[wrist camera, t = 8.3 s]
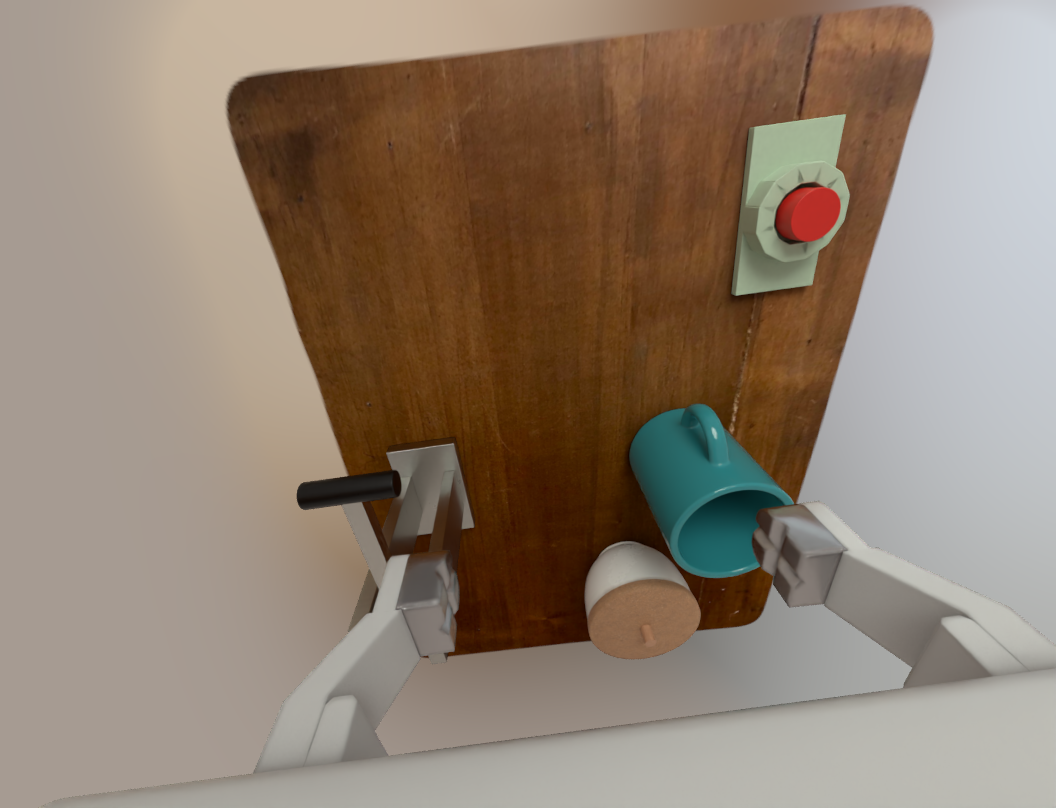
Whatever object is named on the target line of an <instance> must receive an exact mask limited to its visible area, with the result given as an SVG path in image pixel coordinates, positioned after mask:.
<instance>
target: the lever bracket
mask: <svg viewBox="0 0 1056 808" xmlns="http://www.w3.org/2000/svg"><path fill="white" fill-rule="evenodd" d="M387 456H388V459H389V462H390V465H391V468H392V470H397V471H398V472H399V474H400V477H401V484H402V488H401V494H400V496H399V497H395V498H393V501H392V504H391V507H390V510H389V513H388V515H387V518H386V521H385V524H384V527H383V530H382V532H383V534H384V537H385V539H386V542H387V545H388V547H389V550H390V552H391V555H392V556H397V555H406V554H412V553H413V551H414V547H415V543H416V539H417V535H423V534H430V533H432V536H431V541H430V546H429V552H432V551H441V550H450V552H451V555H452V559H453V562H452V569H454V570H455V571H456V573H457V567H458V558H459V549H460V540H461V531H462V529H467V528H474V527H475V516H474V512H473V508H472V504H471V500H470V496H469V492H468V487H467V483H466V479H465V475H464V471H463V467H462V463H461V459H460V455H459V451H458V447H457V443H456V439H455V437H450V438H443V439H436V440H429V441H421V442H414V443H407V444H400V445H392V446H389V448H388V451H387ZM378 592H379V589H378V587H377V585H376V582H375V580H374V578H373V576H372V573H371V571H370V569H369V571H368V574H367V577H366V580H365V582H364V585H363V588H362V591H361V594H360V597H359V600H358V603H357V606H356V609H355V612H354V615H353V617H352V621H351V623H350V626H349V629H348V632H350V631H351V630H352V628H353V627H354V626H355V625H356V624H357V623H358V622H359V621H360V620H361V619H362V618H363V617H364V616H365V615H366V614H368V613H372V612H373V609H374V606H375V602H376V599H377V596H378ZM428 656H429V658H430V661H431V663H432V664H438V663H445V662H447V656H448V652H446V653H440V654H434V655H428Z"/></svg>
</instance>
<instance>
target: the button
mask: <svg viewBox="0 0 1056 808" xmlns="http://www.w3.org/2000/svg"><path fill="white" fill-rule="evenodd" d="M840 210H841V202H840V198H839V196H838V195H837V193H836V192H835V191H834V190H832V189H830V188H825V187H807V188H800V189H797V190H795V191H793V192H792V193H790V194H789V195H788V196H787V197H786V198H785V199H784V200H783V201H782V203H781V204H780V206H779V208H778V211H777V214H776V220H775V221H776V228H777V230H778V232H779V233H780V235H782V236H783V237H785V238H787V239H792V240H798V241H804V242H811V241H815V240H818V239H820V238H822V237H823V236H825V235H826V234H827V233H828V232H829V231H830V230H831V229H832V228H833V227H834V225H835V223H836V222H837V220H838V217H839V214H840Z"/></svg>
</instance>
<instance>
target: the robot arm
mask: <svg viewBox="0 0 1056 808" xmlns="http://www.w3.org/2000/svg"><path fill="white" fill-rule="evenodd" d="M755 520H756V522H757V523H758V524H759V527H758V528H757V529H756V530H755V531H754V532H753V535H752V542H751V543H752V548H753V553H754V555H755V557H756V560H757V562H758V563H759V565H760V566H761V568H762V569H763V570H765V571H766V572H768V573H770V574H771V575H773V576H774V580H773V585H774V586H775V588H776V589H777V591H778V592H779V593H780V595H781V596H782V598H783V599H784V601H785V602H786V603H787V605H788V606H789V607H799V606H809V605H819V604H824V606H825V607H827V608H828V609H829V610H831V611H832V612H834V613H835V614H837V615H838V616H839V617H841V618H842V619H844V620H845V621H847V622H848V623H850V624H851V625H852V626H854V627H855V628H856V629H858V630H859V631H861V632H862V633H864V634H865V635H867V636H868V637H870V638H871V639H872V640H874V641H875V642H877V643H878V644H879V645H881V646H882V647H884V648H885V649H886V650H888V651H889V652H891V653H892V654H894V655H895V656H896V657H898V658H899V659H901V660H902V661H904V662H905V663H906V664H908V665H909V666H911V667H912V670H911V672H910V673H909V675H908V677H907V679H906V681H905V682H904V687H903V688H901V689H894V690H886V691H878V692H871V693H863V694H855V695H848V696H840V697H833V698H825V699H817V700H810V701H803V702H795V703H787V704H779V705H772V706H764V707H756V708H749V709H741V710H733V711H726V712H718V713H710V714H702V715H695V716H688V717H680V718H672V719H665V720H657V721H650V722H642V723H635V724H627V725H619V726H612V727H604V728H597V729H589V730H581V731H574V732H566V733H558V734H551V735H543V736H536V737H528V738H521V739H513V740H505V741H498V742H490V743H483V744H475V745H468V746H460V747H453V748H444V749H437V750H429V751H422V752H414V753H406V754H399V755H391V756H388V754H387V752H386V750H385V749H384V747H383V745H382V743H381V742H380V740H379V738H378V736H377V734H376V733H375V730H376V728H377V727H378V725H379V723H380V722H381V720H382V719H383V717H384V715H385V714H386V712H387V711H388V709H389V708H390V706H391V705H392V703H393V701H394V700H395V698H396V696H397V695H398V694H399V692H400V690H401V689H402V687H403V686H404V684H405V683H406V681H407V679H408V678H409V676H410V675H411V673H412V672H413V670H414V668H415V667H416V665H417V664H418V662H419V661H420V657H421V656H427V655H434V654H440V653H446V652H452V651H455V641H456V631H457V623H456V620H455V617H454V614H455V613H456V612H457V610H458V609H459V582H458V576H457V573H456V571H455V570H454V569H452V562H453V559H452V555H451V552H450V550H441V551H432V552H422V553H412V554H406V555H397V556H391V558H390V559H389V560H388V562H387V566H386V569H385V572H384V576H383V579H382V582H381V586H380V589H379V592H378V596H377V599H376V602H375V606H374V609H373V612H372V613H368V614H366V615H365V616H364V617H363V618H362V619H361V620H360V621H359V622H358V623H357V624H356V625H355V626H354V627H353V628H352V630H351V631H350V632H349V633H348V634H347V635H346V636H345V637H344V638H343V639H342V640H341V641H340V642H339V643H338V644H337V645H336V646H335V648H334V649H333V650H332V651H331V652H330V653H329V654H328V655H327V656H326V657H325V658H324V659H323V660H322V661H321V662H320V663H319V664H318V666H317V667H316V668H315V669H314V670H313V671H312V672H311V673H310V674H309V675H308V676H307V677H306V678H305V679H304V680H303V681H302V682H301V684H300V685H299V686H298V687H297V688H296V689H295V690H294V691H293V692H292V693H291V694H290V695H289V696H288V697H287V698H286V699H285V700H284V702H283V704H282V706H281V709H280V711H279V713H278V716H277V718H276V720H275V723H274V725H273V728H272V730H271V732H270V734H269V737H268V739H267V742H266V744H265V747H264V749H263V751H262V753H261V756H260V758H259V760H258V763H257V765H256V768H255V770H254V772H253V774H246V775H238V776H231V777H223V778H215V779H208V780H201V781H192V782H186V783H177V784H170V785H162V786H154V787H147V788H139V789H131V790H124V791H115V792H107V793H99V794H91V795H83V796H75V797H69V798H63V799H59V800H56V801H53V802H50V803H48V804H45V805H43V806H41V807H39V808H1056V645H1055V644H1054V643H1053V642H1051V641H1050V640H1049V639H1048V638H1046V637H1045V636H1044V635H1043V634H1042V633H1040V632H1039V631H1038V630H1036V629H1035V628H1034V627H1033V626H1032V625H1031V624H1029V623H1028V622H1027V621H1025V619H1023V618H1022V617H1021V616H1020V615H1018V614H1017V613H1016V612H1015V611H1013V610H1012V609H1011V608H1010V607H1007V606H1006V605H1003V604H1001V603H999V602H997V601H994V600H992V599H990V598H988V597H986V596H983V595H981V594H979V593H977V592H975V591H972V590H970V589H968V588H966V587H963V586H961V585H959V584H957V583H955V582H952V581H950V580H948V579H946V578H944V577H942V576H939V575H937V574H935V573H933V572H930V571H928V570H926V569H924V568H922V567H919V566H917V565H915V564H913V563H910V562H908V561H906V560H904V559H902V558H900V557H897V556H895V555H893V554H891V553H888V552H886V551H884V550H882V549H880V548H870V547H869V546H868V545H867V544H866V543H865V542H864V541H863V540H862V539H861V538H860V537H859V536H858V535H857V534H856V533H855V532H854V531H853V530H852V529H851V528H849V527H848V526H847V525H846V524H845V523H844V522H843V521H842V520H841V519H840V518H839V517H838V516H837V515H836V514H835V513H834V512H833V511H832V510H831V509H830V508H829V507H828V506H827V505H826V504H824V503H822V502H820V501H814V502H807V503H800V504H792V505H785V506H778V507H771V508H764V509H760V510H759V511H758V512H757V515H756V519H755Z"/></svg>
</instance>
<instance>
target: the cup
mask: <svg viewBox="0 0 1056 808" xmlns="http://www.w3.org/2000/svg"><path fill="white" fill-rule="evenodd" d="M629 462H630V466H631V469H632V472H633V474H634V476H635V478H636V480H637V482H638V484H639V487H640V489H641V491H642V493H643V495H644V497H645V499H646V501H647V503H648V506H649V508H650V510H651V512H652V514H653V516H654V518H655V520H656V523H657V525H658V527H659V529H660V531H661V533H662V535H663V537H664V540H665V542H666V544H667V546H668V548H669V550H670V552H671V554H672V556H673V558H674V560H675V561H676V562H677V564H678V565H679V566H680V567H682V568H683V569H684V570H686V571H688V572H690V573H692V574H694V575H698V576H702V577H708V578H724V577H731V576H736V575H740V574H743V573H746V572H749V571H751V570H754V569H756V568H758V567H760V565H759V563H758V562H757V560H756V557H755V555H754V553H753V548H752V543H751V542H752V535H753V532H754V531H755V530H756V529H757V528H758V527H759V524H758V523H757V522H756V520H755V519H756V515H757V512H758V511H759V510H760V509H764V508H771V507H778V506H785V505H792V504H794V503H793V501H792V499H791V498H790V497H789V496H788V495H787V493H786V492H785V491H784V490H783V489H782V488H781V487H780V486H779V485H778V484H777V483H776V482H775V481H774V480H773V479H772V478H771V477H770V475H769V474H768V473H767V472H766V471H765V470H764V469H763V468H762V467H761V466H760V465H759V464H758V463H757V462H756V461H755V460H754V459H753V457H752V456H751V455H750V454H749V453H748V452H747V451H746V450H745V449H744V448H743V447H742V446H741V445H740V444H739V443H738V442H737V441H736V440H735V438H734V437H733V436H732V435H731V434H730V433H729V432H728V431H727V430H726V429H725V428H724V427H723V426H722V424H721V422H720V420H719V418H718V416H717V415H716V413H715V412H714V411H713V410H712V409H711V408H710V407H709V406H707V405H705V404H700V403H699V404H693V405H690V406H688V407H687V408H680V409H674V410H670V411H667V412H664V413H661V414H659V415H657V416H656V417H654V418H652V419H651V420H649V421H648V422H647V423H646V424H645V425H644V426H643V427H642V428H641V429H640V430H639V431H638V433H637V434H636V436H635V437H634V439H633V441H632V444H631V447H630V452H629Z"/></svg>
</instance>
